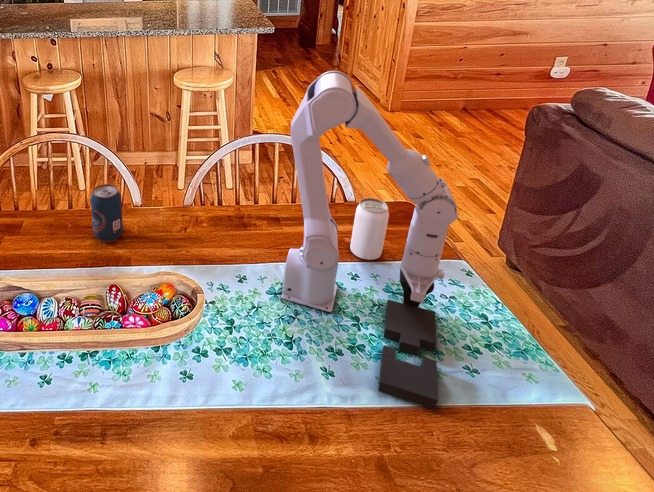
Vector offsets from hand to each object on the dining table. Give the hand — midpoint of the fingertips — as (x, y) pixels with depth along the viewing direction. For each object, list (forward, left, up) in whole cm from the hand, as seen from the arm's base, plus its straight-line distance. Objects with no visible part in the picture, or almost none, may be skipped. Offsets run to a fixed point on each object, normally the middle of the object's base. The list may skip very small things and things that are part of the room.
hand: (409, 306), depth 95 cm
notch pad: (0, -17, -1) cm, 17 cm away
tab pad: (0, -5, -1) cm, 5 cm away
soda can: (-64, -2, -1) cm, 64 cm away
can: (-9, +15, -1) cm, 18 cm away
